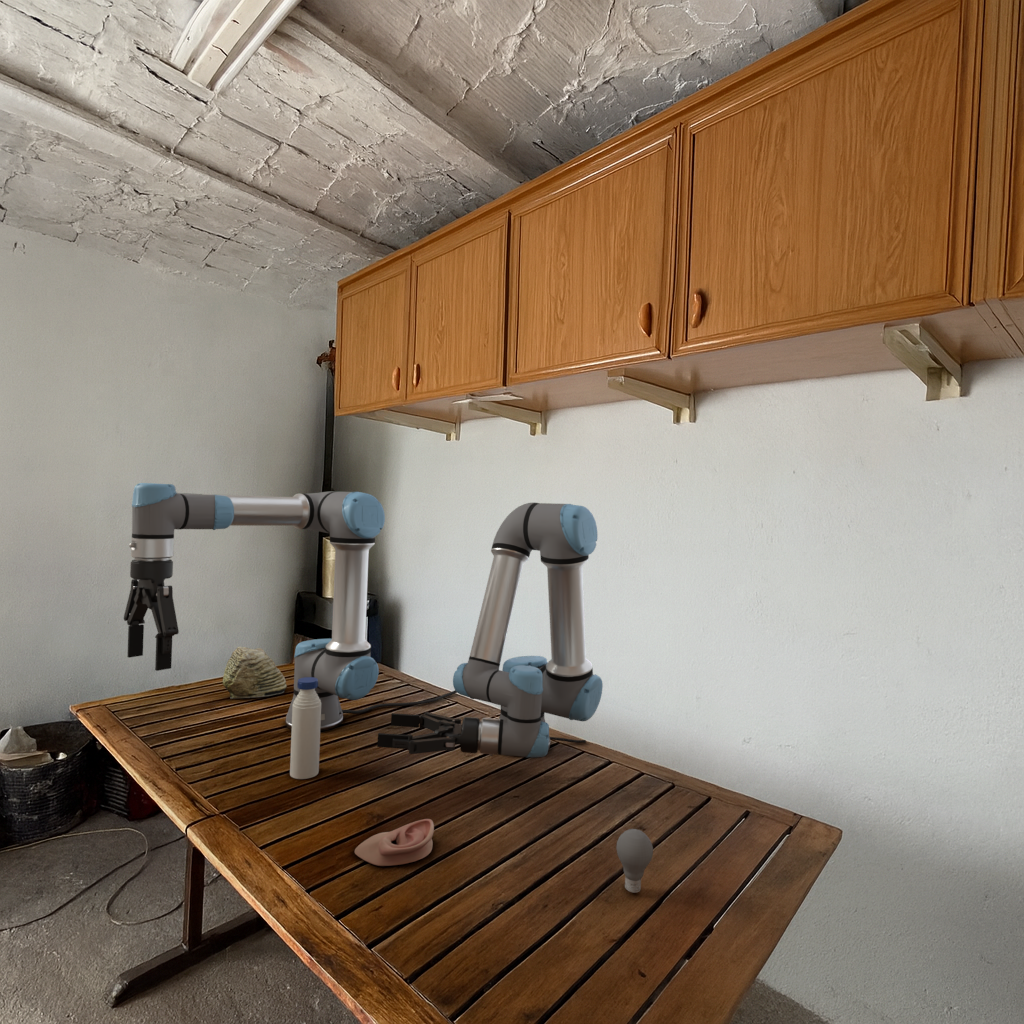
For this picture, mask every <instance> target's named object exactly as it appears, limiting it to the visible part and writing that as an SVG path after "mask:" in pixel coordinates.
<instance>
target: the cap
mask: <svg viewBox="0 0 1024 1024" xmlns="http://www.w3.org/2000/svg"><path fill="white" fill-rule="evenodd" d="M297 687H298V688H299V689H302V690H310V689H315V688H317V687H318V679H317V678H314V677H305V678H300V679H298V685H297Z"/></svg>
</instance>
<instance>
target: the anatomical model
mask: <svg viewBox="0 0 1024 1024" xmlns="http://www.w3.org/2000/svg"><path fill="white" fill-rule="evenodd" d="M434 824H435V823H434V821H433V820H432V819H430V818H424V819H423V818H422V819H419V820H416V821H413V822H410V823H407V824H405V825H402V826H400V827H397V828H395V829H393V830H391V831H384V832H379V833H377V834H374V835H372V836H370V837H368V838H367V839H365V840H363V841H362V842H361V843H360V844H359V845H358V846H356V847H355V849H354V854H355V856H357V857H358V858H360V859H361V860H363V861H365V862H367V863H368V864H372V865H374V866H378V867H390V866H398V865H399V866H400V865H406V864H409V863H413V862H417V861H419V860H422V859H424V858H426V857H427V856H429V854H430V853H431V852H432V850H433V843H434V842H433V839H432V838H433V837H434V834H435V825H434Z"/></svg>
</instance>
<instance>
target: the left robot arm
mask: <svg viewBox="0 0 1024 1024" xmlns="http://www.w3.org/2000/svg"><path fill="white" fill-rule="evenodd" d="M385 515H386V513H385V511H384V508H383V505H382V503H381V502H380V501H379V500H378V498H377V497H375V495H373V494H370V493H367V492H363V491H362V492H361V491H337V490H336V491H335V490H333V491H332V490H330V491H321V492H311V493H295V494H294V495H293V496H276V495H275V496H274V495H273V496H272V495H248V494H247V495H246V494H244V495H243V494H220V493H219V494H218V493H217V494H216V493H215V494H214V493H189V492H187V493H186V492H177V491H176V486H175V485H174V484H173V483H152V482H139V483H137V484H136V485H135V486H134V488H133V492H132V501H131V520H132V521H131V542H130V543H128V547H129V548H130V549H131V550H130V556H131V558H133V559H132V560H131V561H130V567H129V568H130V571H129V574H130V575H129V576H130V578H131V581H130V590H129V594H128V598H127V603H126V607H125V610H124V615H123V621H124V622H126V624H127V626H128V629H127V630H128V631H127V658H135V657H142V656H144V635H145V634H144V630H145V625H144V624H145V623H146V621H145V619H144V618H145V616H146V615H147V612H148V609H149V610H151V613H152V618H153V620H154V624H155V627H156V631H157V633H156V635H155V636H154V638H155V661H154V663H155V665H154V668H155V669H154V670H155V671H157V672H159V671H164V670H169V669H172V659H173V657H172V655H173V637H175V636H176V635H179V632H180V631H179V625H178V619H177V615H176V614H177V613H176V609H175V603H174V597H173V595H174V593H173V585H165V580H167V579H171V578H172V577H173V575H174V573H173V572H174V561H173V560H172V559H171V558H173V557H174V554H175V553H174V552H175V530H213V531H215V530H224V529H228V528H230V526H233V527H234V526H237V527H238V526H240V527H243V526H246V527H247V526H249V527H250V526H258V527H259V526H268V527H269V526H276V527H277V526H282V527H284V526H285V527H286V526H287V527H288V526H289V527H290V526H291V527H293V528H294V529H296V530H308V531H309V530H310V531H316V532H319V533H325V534H329V544H330V545H331V546H332V547H333V548H334V550H335V551H334V572H333V573H334V577H333V599H332V625H331V626H332V627H331V638H317V639H308V640H304V641H300V642H299V643H297V645H296V646H295V650H294V655H293V657H294V672H293V673H294V674H293V695H292V696H293V697H292V699H291V702H290V704H289V708H288V711H287V713H286V715H285V726H286V728H287V729H289V730H292V706H293V702H294V700H295V698H296V697H297V695H298V694H299V692H300V689H299V688H298V687H297V685H298V679H300V678H305V677H314V678H317V679H318V687H317V688H315V691H316V694H318V697H319V699H320V700H321V725H320V732H325V731H329V730H332V729H335V728H337V727H339V726H340V725H342V723H343V722H344V714H351V715H352V714H353V715H358V714H364V713H367V712H369V711H371V710H372V711H373V710H374V709H379V708H386V707H387V708H388V707H389V708H390V707H409V706H419V705H427V704H430V703H435V702H437V701H441V700H442V699H444V698H447V697H451V696H453V695H456V694H458V693H457V692H456V690H455V689H454V690H452V691H451V692H447V693H444V694H442V695H439V696H437V697H434V698H430V699H426V700H417V701H410V702H409V701H408V702H388V703H386V702H385V703H378V704H374V705H370V706H368V707H365V708H363V709H358V710H353V709H342V706H341V702H340V699H339V698H341V699H342V700H343V699H344V700H348V701H349V700H350V701H357V700H360V699H362V698H364V697H365V696H367V695H368V694H370V692H371V690H372V689H374V687H375V685H376V683H377V682H378V678H379V674H380V672H379V671H380V670H379V669H380V668H379V665H378V663H377V662H376V660H375V659H374V657H371V652H372V649H371V648H372V644H371V643H370V642H368V640H367V639H366V631H367V607H368V606H367V605H368V604H367V602H368V582H369V581H368V579H369V555H370V553H369V552H370V550H371V548H372V547H374V545H375V544H376V536H378V535H379V534H380V533H381V530H383V528H384V526H385V522H386V521H385V520H386V516H385Z"/></svg>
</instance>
